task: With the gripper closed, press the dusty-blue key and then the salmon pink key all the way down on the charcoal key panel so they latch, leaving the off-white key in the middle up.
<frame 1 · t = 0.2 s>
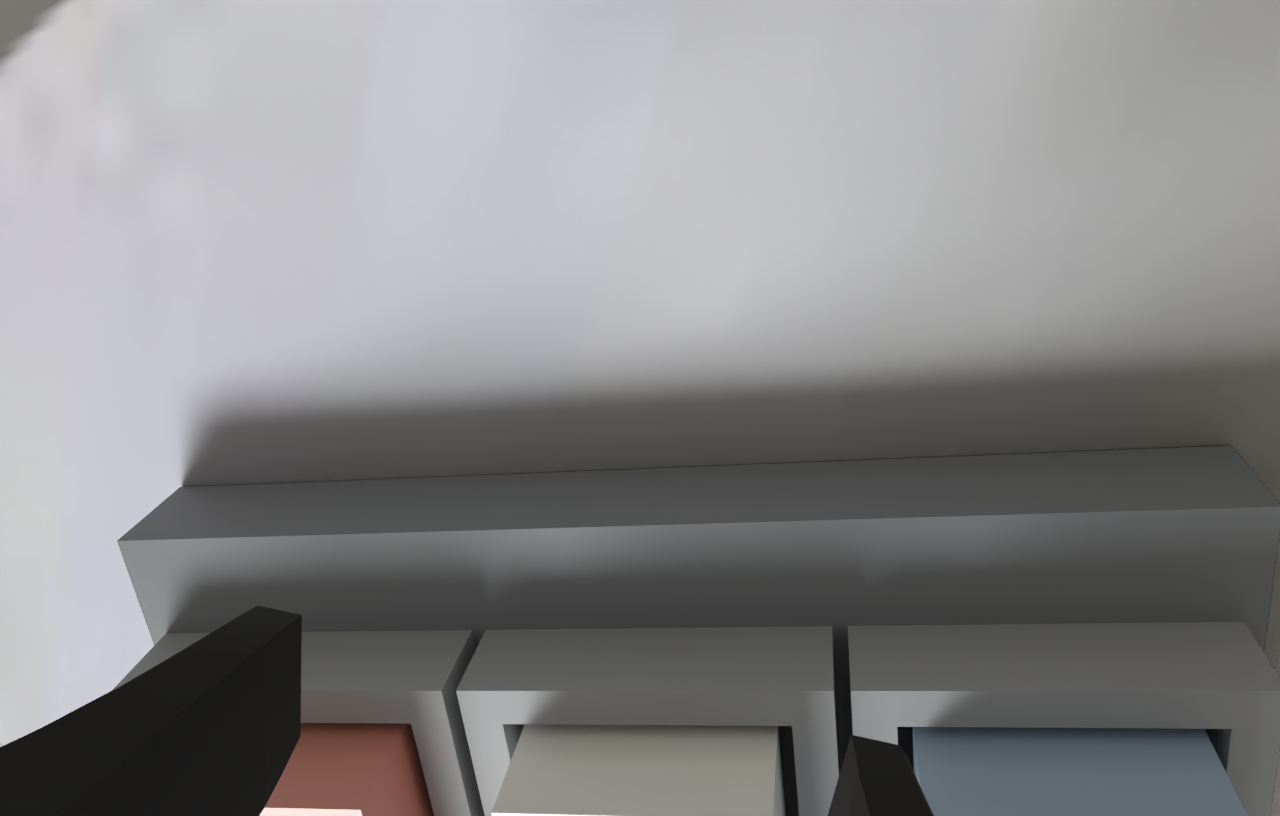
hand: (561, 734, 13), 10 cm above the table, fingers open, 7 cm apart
key panel: (685, 692, 25), on the table
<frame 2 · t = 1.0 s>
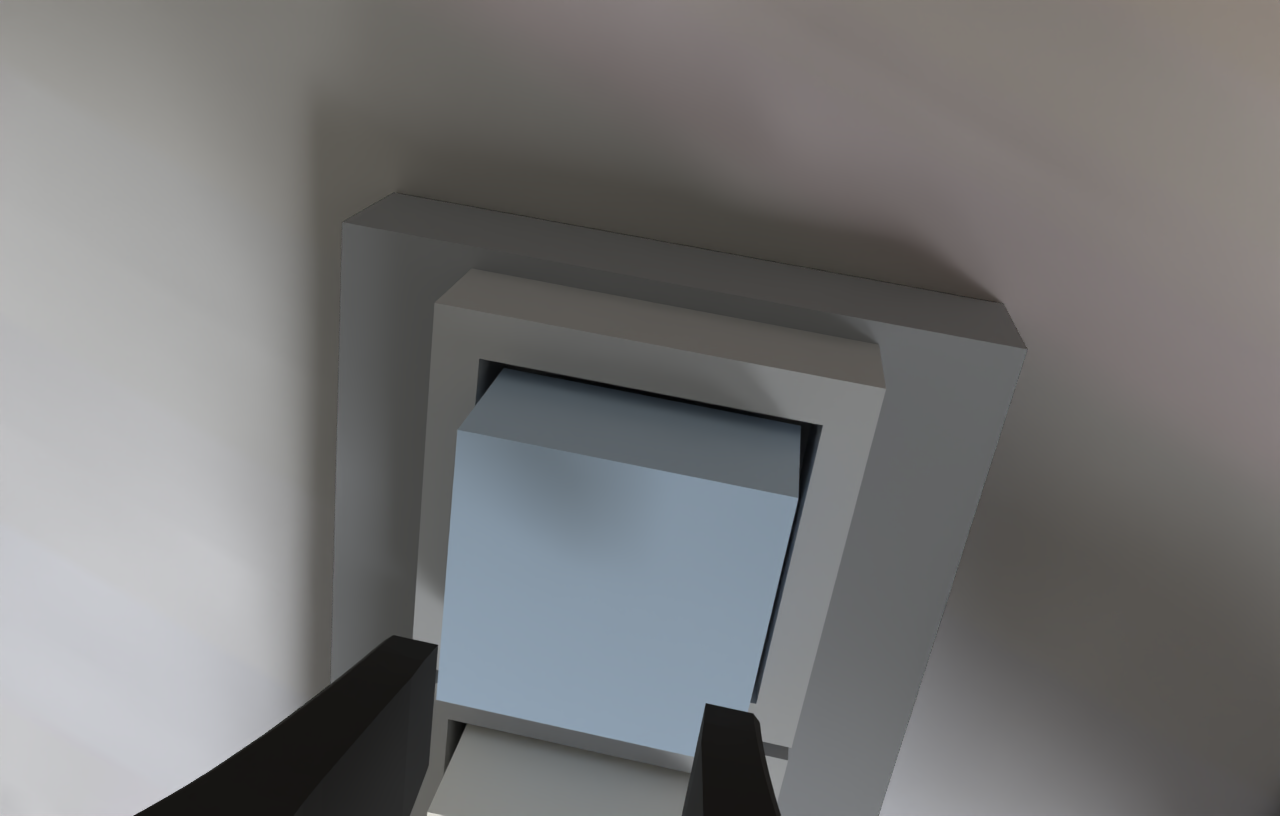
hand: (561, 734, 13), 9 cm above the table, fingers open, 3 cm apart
key panel: (613, 710, 25), on the table
blue key: (617, 563, 17), point 5 cm above the table, slide at 0.0 cm
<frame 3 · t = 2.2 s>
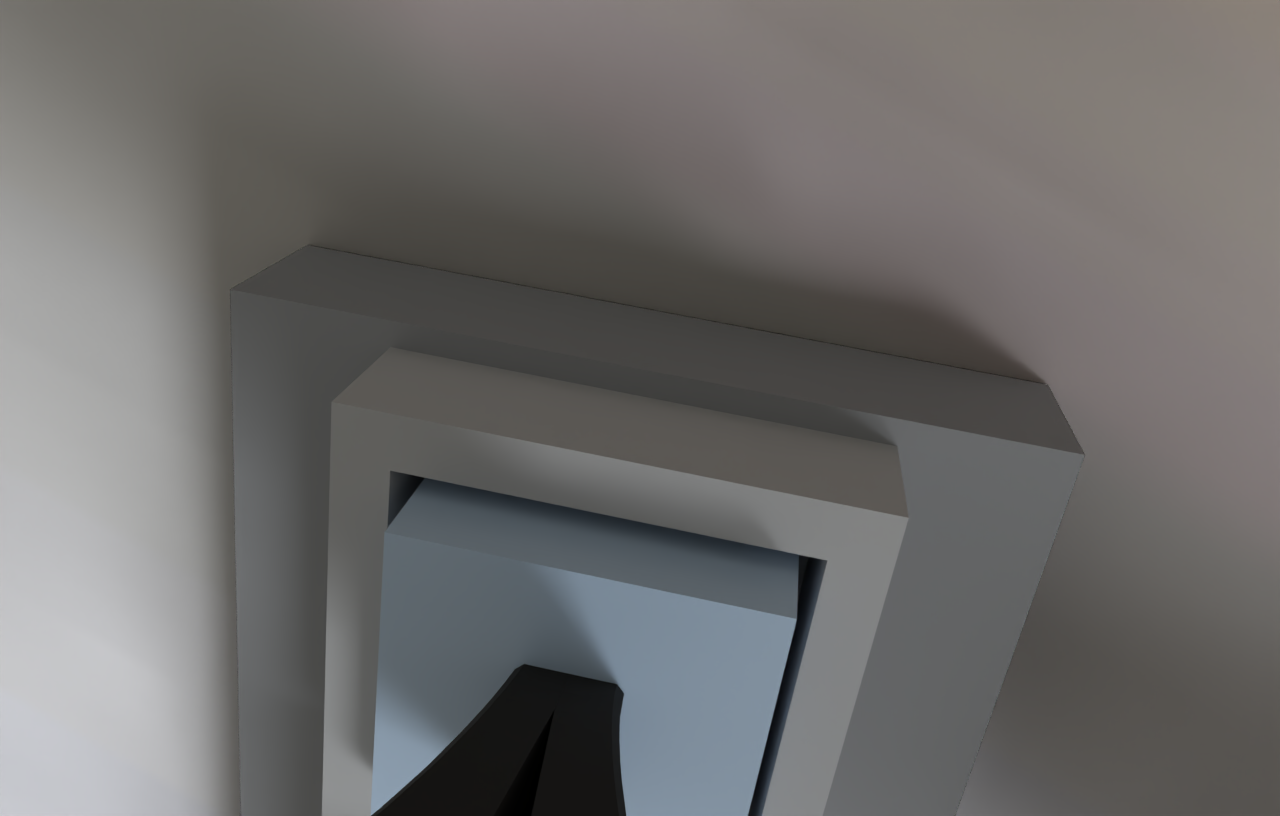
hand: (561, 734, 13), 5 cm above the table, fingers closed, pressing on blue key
blue key: (583, 676, 15), point 4 cm above the table, slide at 1.1 cm, touching gripper
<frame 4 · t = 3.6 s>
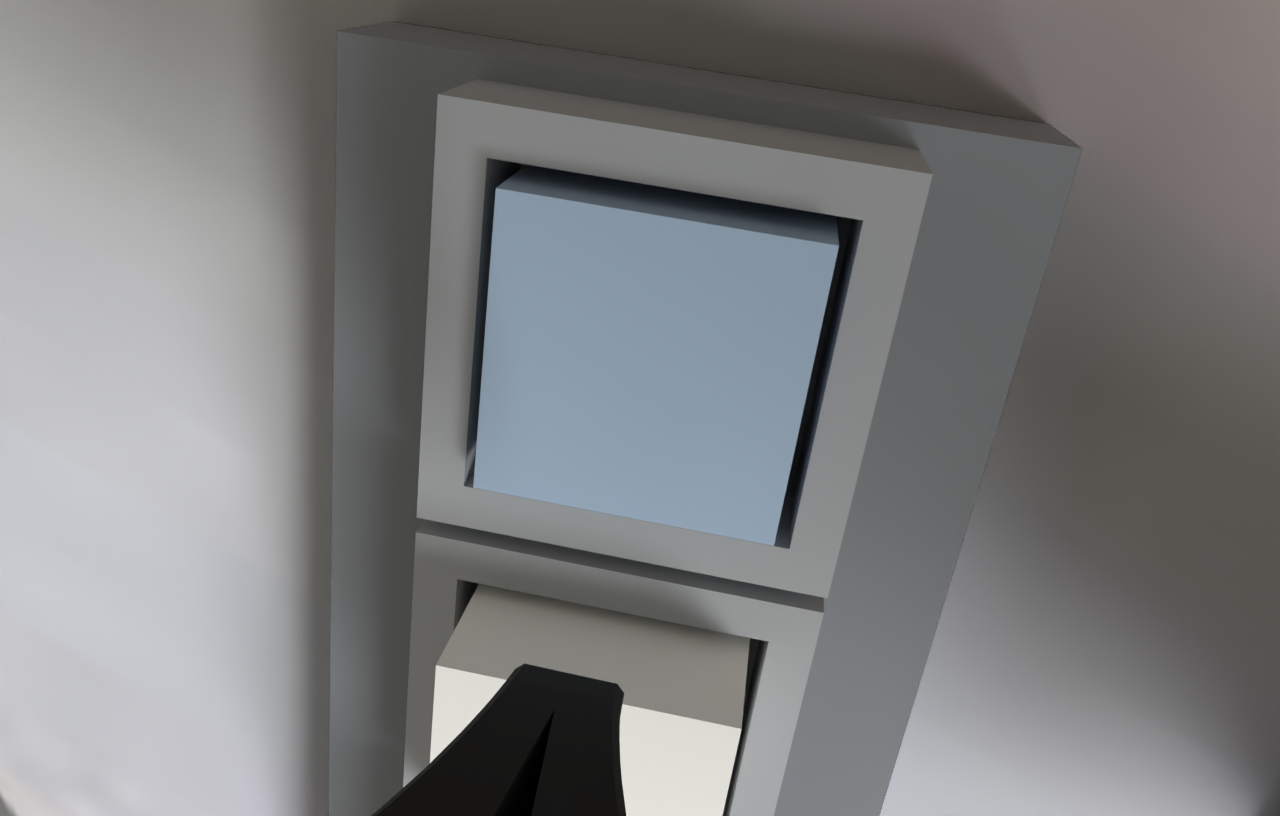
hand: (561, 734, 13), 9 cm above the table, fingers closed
key panel: (631, 598, 24), on the table
white key: (585, 761, 19), point 5 cm above the table, slide at 0.0 cm
blue key: (653, 348, 17), point 4 cm above the table, slide at 1.5 cm
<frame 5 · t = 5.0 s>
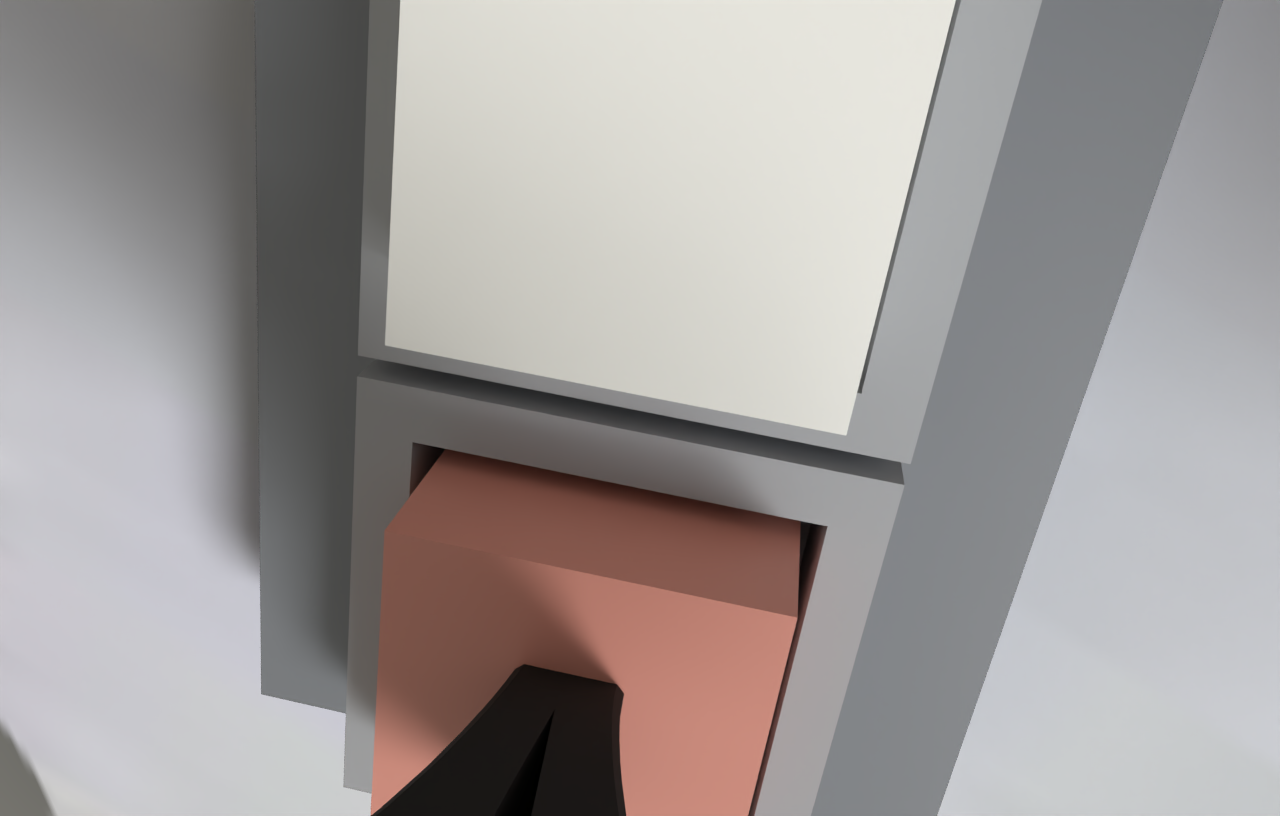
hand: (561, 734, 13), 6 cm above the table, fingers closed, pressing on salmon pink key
salmon pink key: (583, 675, 15), point 5 cm above the table, slide at 0.3 cm, touching gripper
key panel: (709, 78, 16), on the table
white key: (662, 133, 11), point 5 cm above the table, slide at 0.0 cm
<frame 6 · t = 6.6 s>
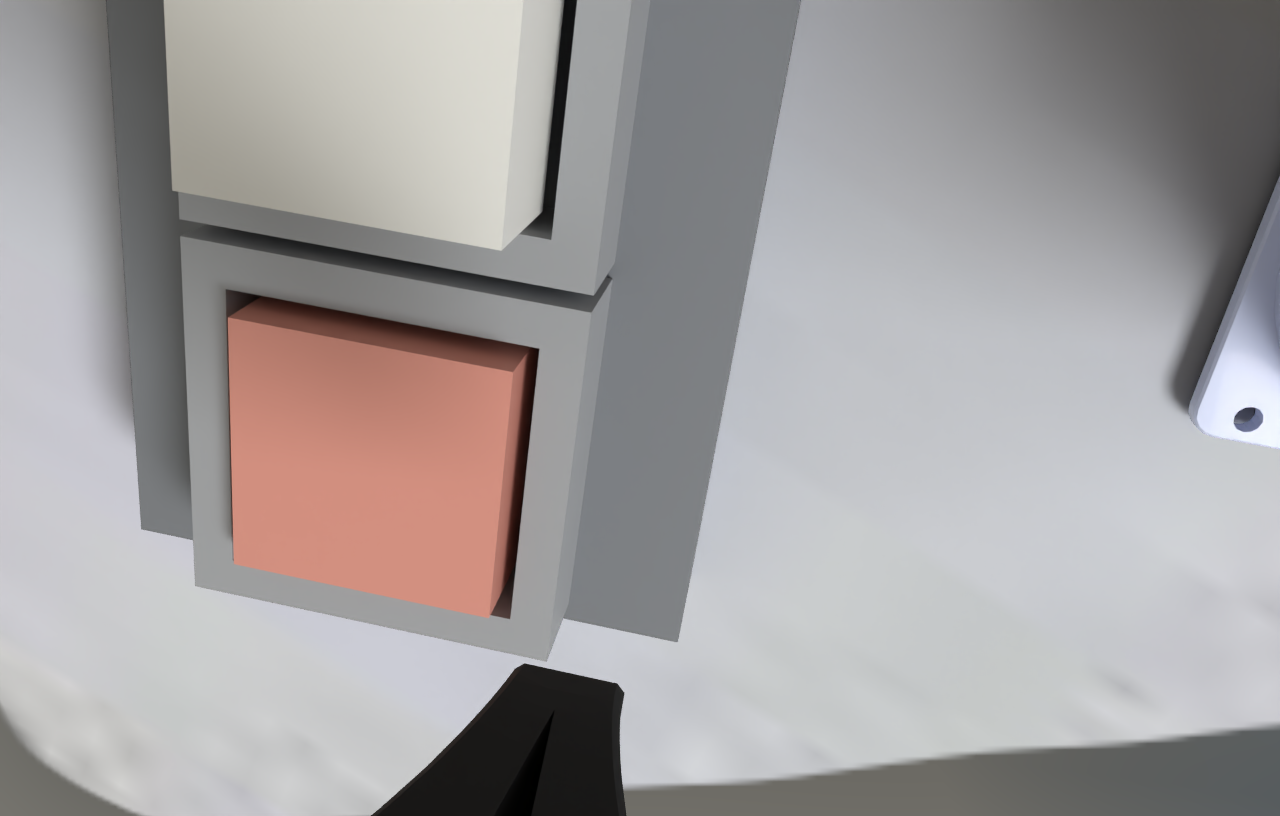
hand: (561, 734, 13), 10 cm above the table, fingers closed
salmon pink key: (389, 444, 20), point 4 cm above the table, slide at 1.5 cm
key panel: (477, 14, 20), on the table
white key: (373, 33, 15), point 5 cm above the table, slide at 0.0 cm
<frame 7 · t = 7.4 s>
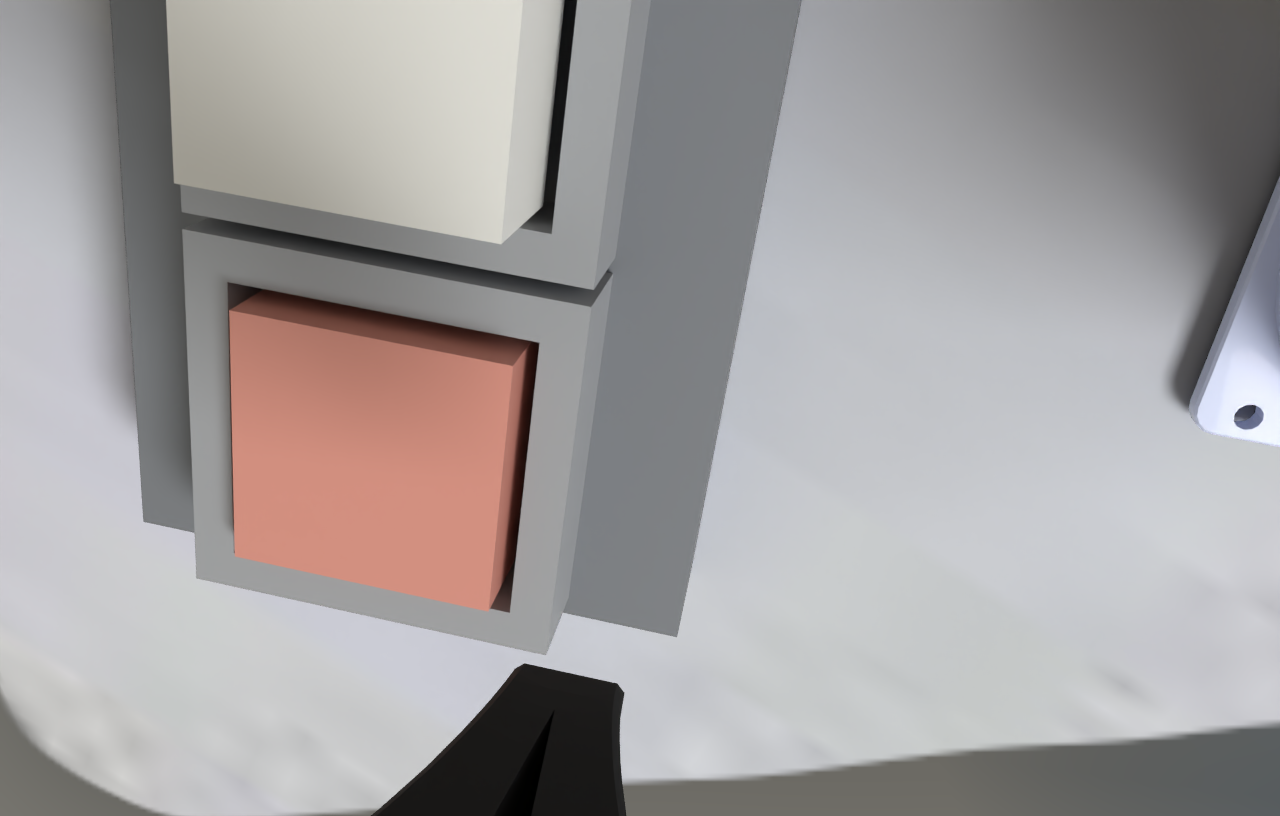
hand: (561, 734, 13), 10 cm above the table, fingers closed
salmon pink key: (390, 438, 20), point 4 cm above the table, slide at 1.5 cm
key panel: (480, 9, 20), on the table
white key: (374, 27, 15), point 5 cm above the table, slide at 0.0 cm
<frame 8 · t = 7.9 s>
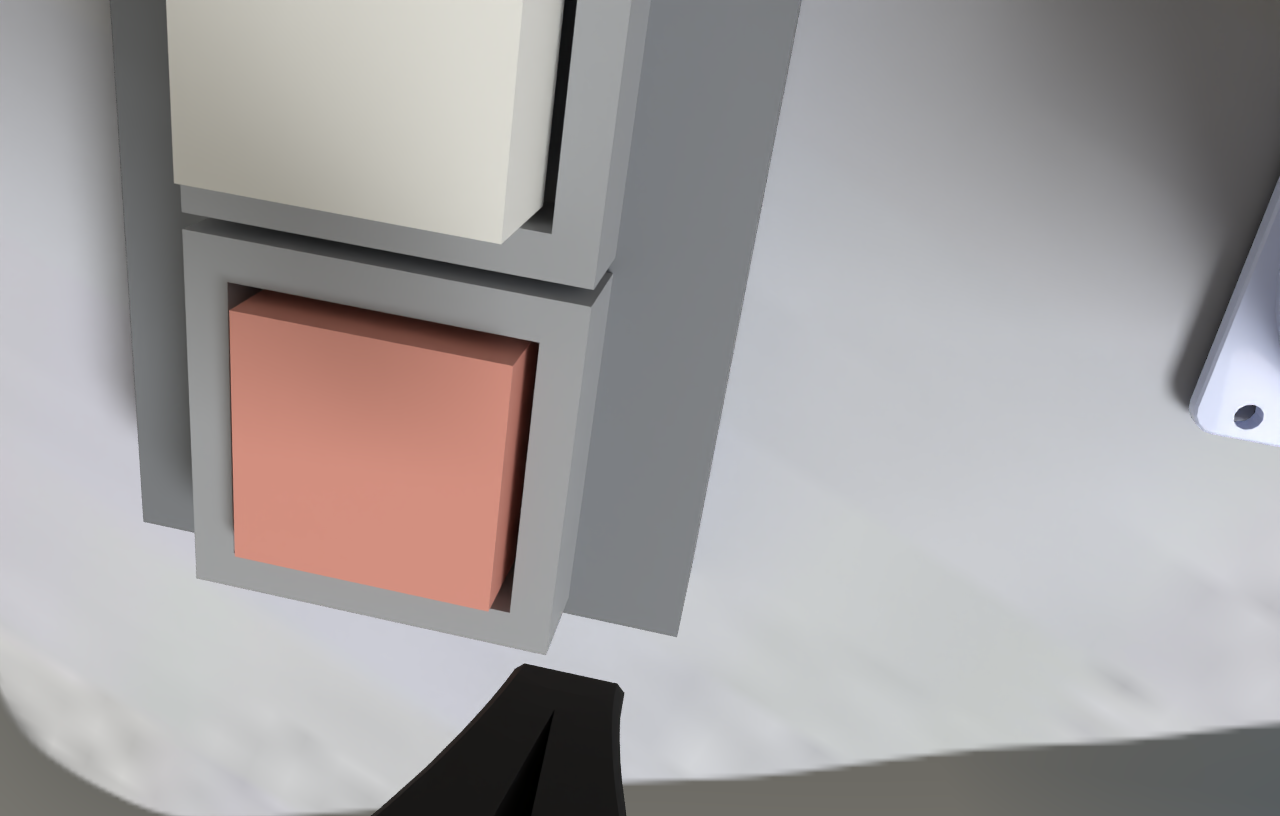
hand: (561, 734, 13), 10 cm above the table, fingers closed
salmon pink key: (390, 438, 20), point 4 cm above the table, slide at 1.5 cm
key panel: (480, 9, 20), on the table
white key: (374, 27, 15), point 5 cm above the table, slide at 0.0 cm
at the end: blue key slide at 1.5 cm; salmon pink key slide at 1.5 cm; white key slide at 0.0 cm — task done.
